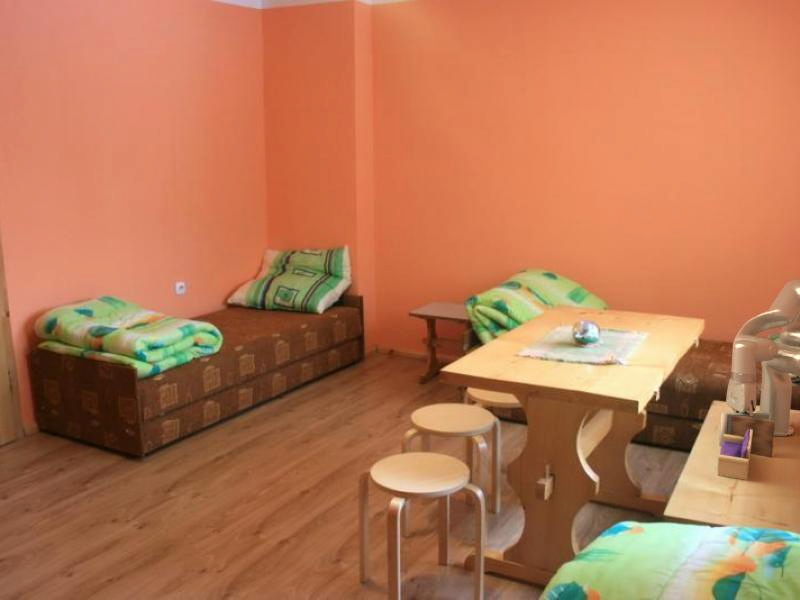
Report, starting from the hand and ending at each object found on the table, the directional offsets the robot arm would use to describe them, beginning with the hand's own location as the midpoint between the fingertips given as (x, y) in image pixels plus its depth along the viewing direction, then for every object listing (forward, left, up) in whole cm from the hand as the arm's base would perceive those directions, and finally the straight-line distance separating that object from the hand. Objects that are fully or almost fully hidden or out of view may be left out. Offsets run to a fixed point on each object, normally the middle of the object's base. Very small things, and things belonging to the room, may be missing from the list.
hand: (740, 428), depth 244 cm
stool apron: (+10, -4, -5) cm, 12 cm away
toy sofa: (+17, -16, -5) cm, 24 cm away
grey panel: (+4, -2, -4) cm, 6 cm away
